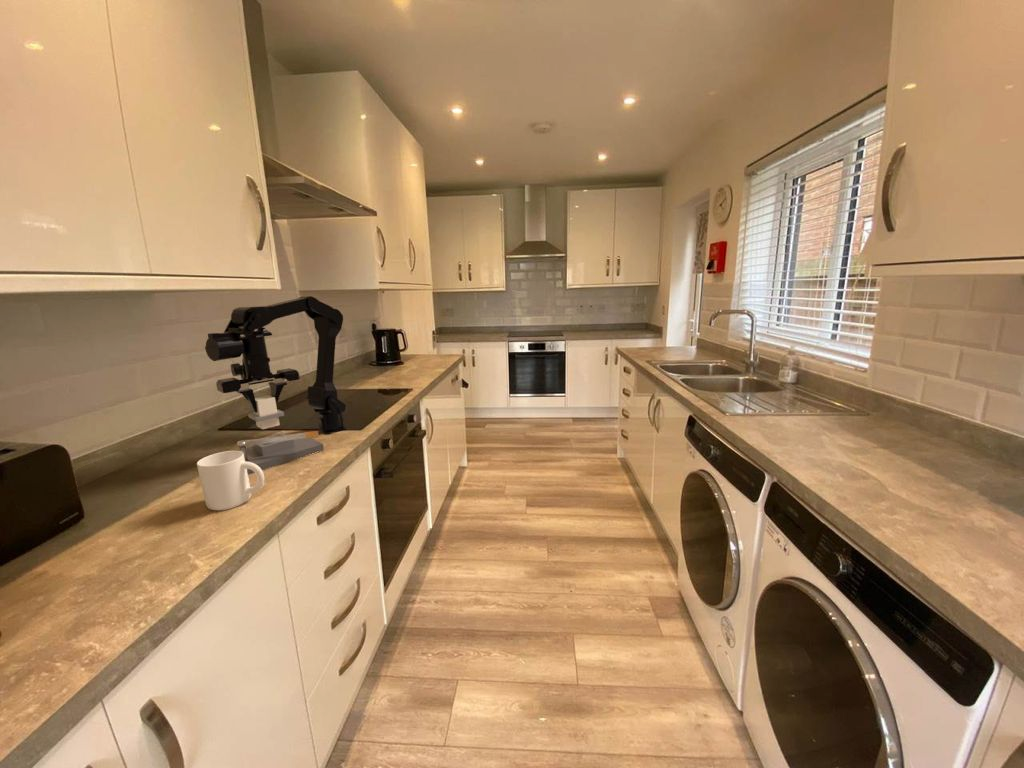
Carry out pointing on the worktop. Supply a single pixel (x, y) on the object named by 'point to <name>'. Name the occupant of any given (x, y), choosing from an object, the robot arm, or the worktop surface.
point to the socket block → (279, 451)
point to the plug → (266, 412)
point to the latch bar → (277, 439)
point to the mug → (227, 479)
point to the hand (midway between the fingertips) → (265, 410)
